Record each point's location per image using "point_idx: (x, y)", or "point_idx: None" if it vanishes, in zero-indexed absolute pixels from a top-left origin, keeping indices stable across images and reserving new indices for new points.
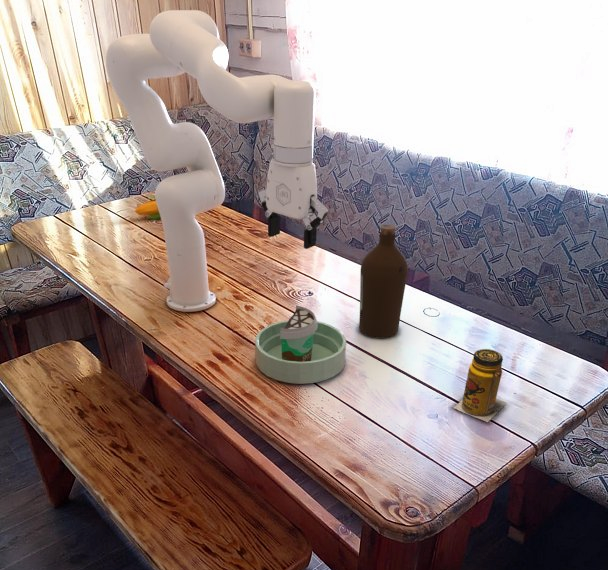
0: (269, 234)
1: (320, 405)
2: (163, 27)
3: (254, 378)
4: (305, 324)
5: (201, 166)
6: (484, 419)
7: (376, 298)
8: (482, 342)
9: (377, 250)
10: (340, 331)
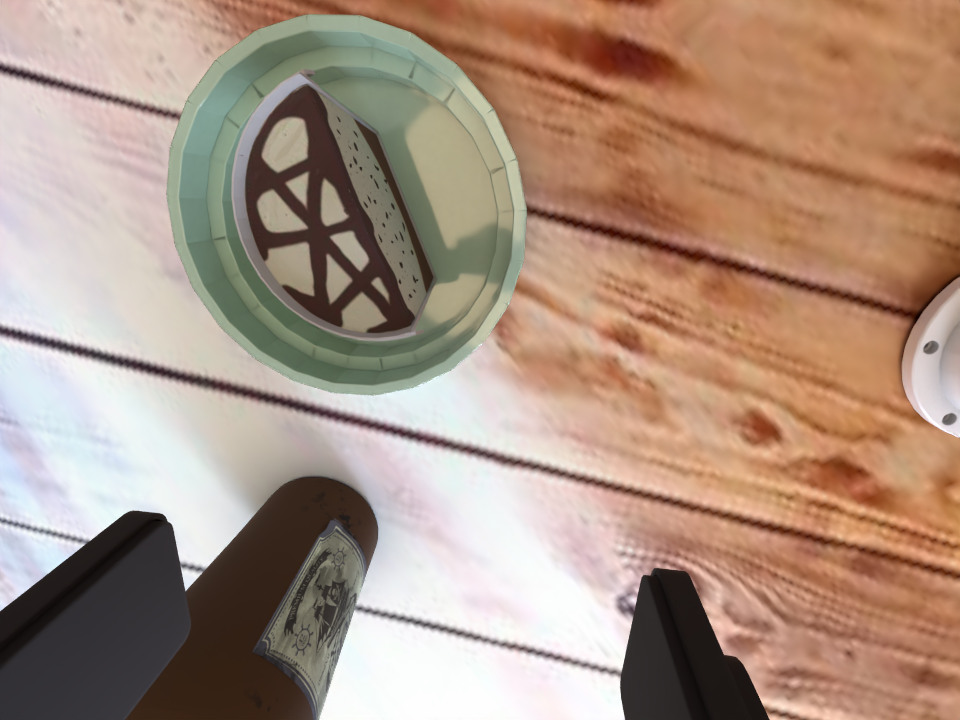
0: (669, 586)
1: (143, 27)
2: None
3: (423, 16)
4: (280, 225)
5: None
6: None
7: (224, 570)
8: None
9: None
10: (281, 373)
